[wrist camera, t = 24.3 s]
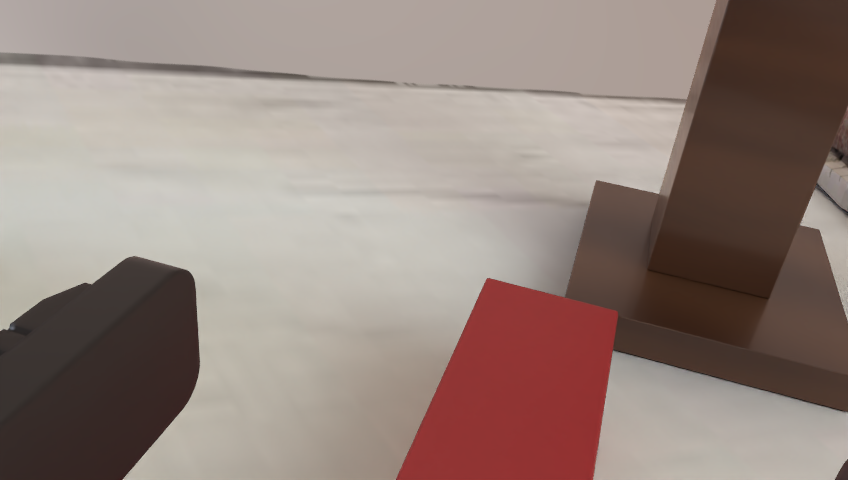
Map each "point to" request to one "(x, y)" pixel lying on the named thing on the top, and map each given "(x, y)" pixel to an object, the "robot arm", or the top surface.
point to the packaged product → (837, 168)
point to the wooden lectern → (735, 213)
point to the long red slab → (519, 392)
